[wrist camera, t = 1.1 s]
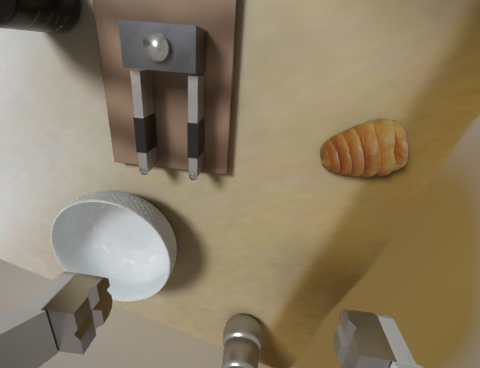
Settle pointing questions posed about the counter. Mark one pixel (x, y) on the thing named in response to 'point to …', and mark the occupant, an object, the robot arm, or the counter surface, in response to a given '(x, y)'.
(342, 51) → the counter surface
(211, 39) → the walnut board
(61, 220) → the cereal bowl
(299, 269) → the counter surface
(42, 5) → the supplement bottle
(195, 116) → the loose tong arm
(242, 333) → the plastic bottle
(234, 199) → the counter surface
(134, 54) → the tong hinge
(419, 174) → the counter surface
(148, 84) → the fixed tong arm
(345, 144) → the pastry
